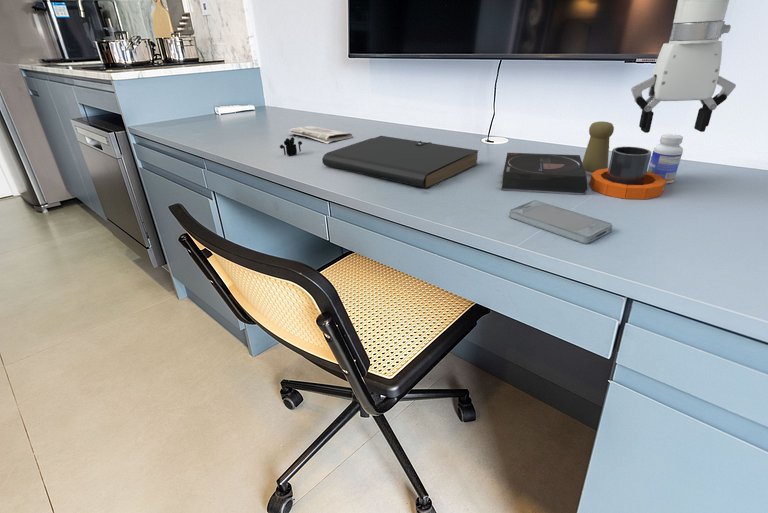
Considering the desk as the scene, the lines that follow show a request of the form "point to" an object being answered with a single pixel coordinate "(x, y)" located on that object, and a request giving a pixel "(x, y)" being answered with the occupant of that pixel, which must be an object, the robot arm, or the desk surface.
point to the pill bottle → (666, 157)
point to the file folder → (403, 160)
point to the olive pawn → (598, 146)
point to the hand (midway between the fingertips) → (671, 130)
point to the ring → (627, 186)
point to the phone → (561, 221)
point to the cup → (628, 165)
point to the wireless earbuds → (290, 147)
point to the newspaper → (320, 133)
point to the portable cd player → (544, 173)
